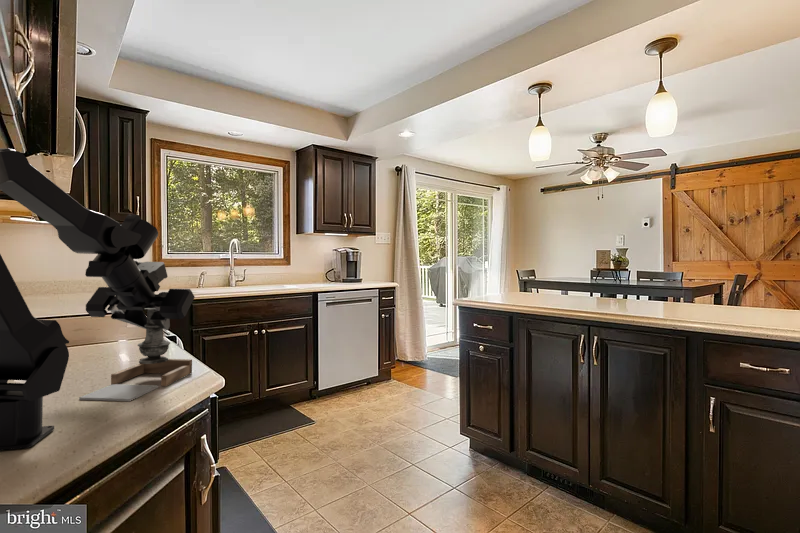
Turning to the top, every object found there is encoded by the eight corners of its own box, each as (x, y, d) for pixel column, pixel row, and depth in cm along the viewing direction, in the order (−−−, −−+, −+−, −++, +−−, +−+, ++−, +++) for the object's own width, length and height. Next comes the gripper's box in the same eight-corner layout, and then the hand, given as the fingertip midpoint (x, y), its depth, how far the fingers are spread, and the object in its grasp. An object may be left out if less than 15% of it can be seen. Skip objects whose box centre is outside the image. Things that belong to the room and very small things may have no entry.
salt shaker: (155, 365, 82) (156, 304, 82) (129, 363, 83) (131, 303, 83) (176, 358, 88) (177, 302, 88) (152, 357, 89) (154, 301, 89)
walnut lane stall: (166, 386, 81) (166, 370, 81) (111, 384, 81) (111, 369, 81) (191, 373, 90) (192, 359, 90) (142, 371, 91) (142, 358, 91)
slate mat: (130, 401, 72) (130, 398, 72) (79, 399, 72) (79, 397, 72) (158, 387, 80) (158, 385, 80) (112, 386, 80) (112, 384, 80)
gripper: (190, 248, 82) (215, 300, 93) (97, 246, 82) (133, 298, 93) (166, 290, 74) (196, 341, 85) (63, 288, 74) (107, 339, 85)
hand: (158, 328), depth 87 cm, fingers closed on salt shaker, 4 cm apart
